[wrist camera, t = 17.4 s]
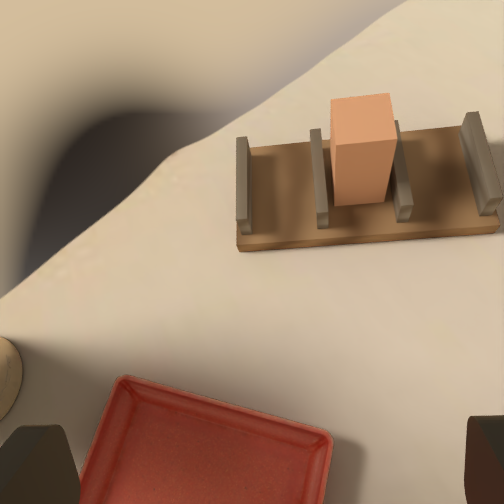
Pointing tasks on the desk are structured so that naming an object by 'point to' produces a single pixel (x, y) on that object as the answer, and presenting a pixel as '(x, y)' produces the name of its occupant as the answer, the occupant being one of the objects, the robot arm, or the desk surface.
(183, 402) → the plant saucer
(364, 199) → the terracotta block
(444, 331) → the desk surface
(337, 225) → the walnut rack
